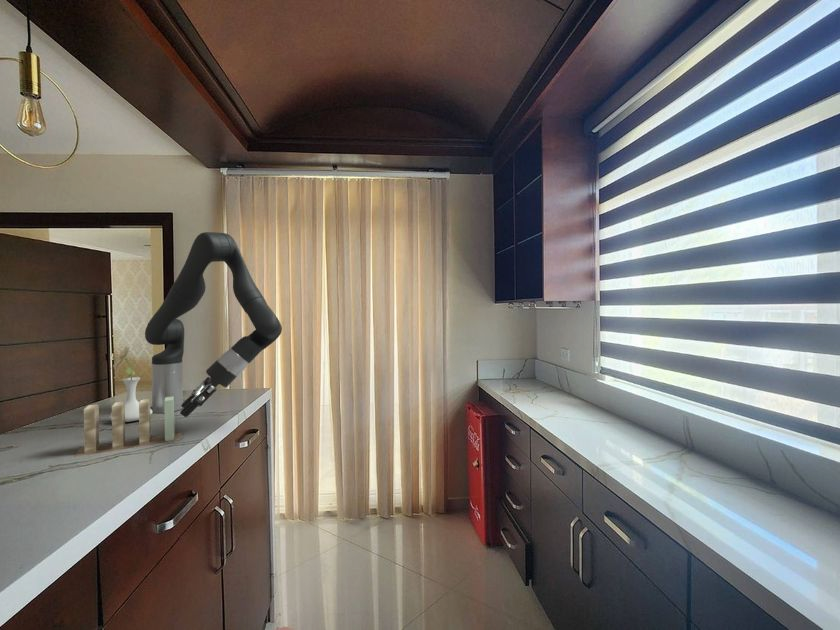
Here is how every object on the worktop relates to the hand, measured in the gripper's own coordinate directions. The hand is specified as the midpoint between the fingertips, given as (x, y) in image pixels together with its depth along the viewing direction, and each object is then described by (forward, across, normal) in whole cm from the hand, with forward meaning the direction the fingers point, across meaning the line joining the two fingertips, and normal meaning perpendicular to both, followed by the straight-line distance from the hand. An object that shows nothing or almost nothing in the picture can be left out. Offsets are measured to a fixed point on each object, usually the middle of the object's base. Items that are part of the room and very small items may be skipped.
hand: (183, 411), depth 105 cm
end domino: (+19, 0, -9) cm, 21 cm away
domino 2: (+11, 0, -1) cm, 11 cm away
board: (+14, 0, -3) cm, 14 cm away
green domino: (+7, 0, +3) cm, 8 cm away
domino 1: (+15, 0, -5) cm, 16 cm away
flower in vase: (+17, -30, -5) cm, 35 cm away
